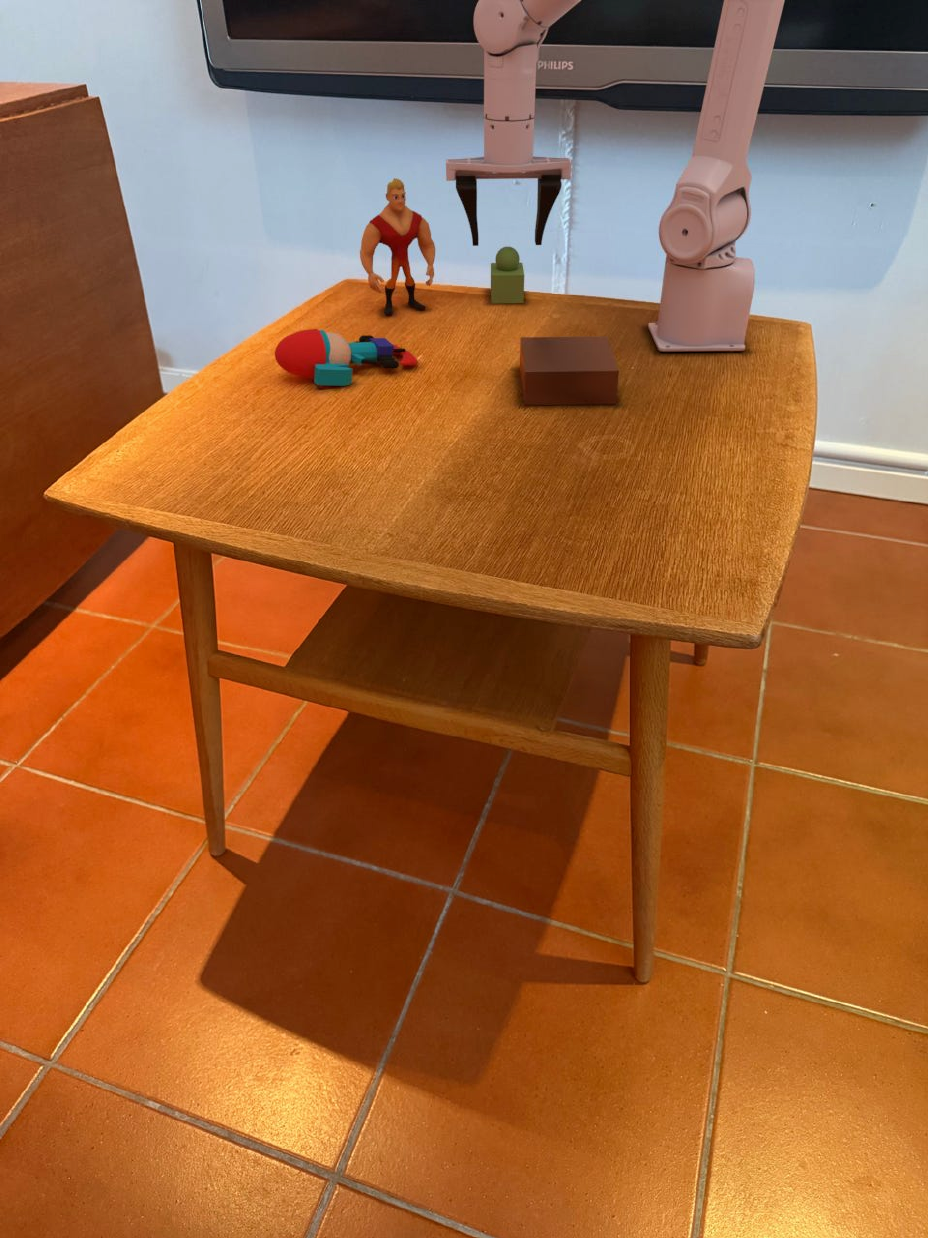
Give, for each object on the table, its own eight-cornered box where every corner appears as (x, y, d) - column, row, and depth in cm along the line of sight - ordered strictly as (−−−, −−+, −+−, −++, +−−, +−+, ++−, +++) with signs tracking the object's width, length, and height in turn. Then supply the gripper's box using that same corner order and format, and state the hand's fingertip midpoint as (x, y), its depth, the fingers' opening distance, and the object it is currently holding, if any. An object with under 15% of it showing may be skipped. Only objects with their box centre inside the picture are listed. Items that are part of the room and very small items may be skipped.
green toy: (521, 290, 114) (522, 240, 110) (523, 303, 110) (525, 252, 106) (490, 290, 114) (491, 241, 110) (491, 303, 110) (491, 252, 106)
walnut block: (604, 368, 94) (607, 336, 91) (615, 404, 87) (619, 370, 84) (519, 369, 94) (520, 337, 92) (524, 405, 87) (525, 371, 84)
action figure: (371, 320, 106) (361, 184, 97) (362, 311, 109) (350, 178, 99) (443, 308, 109) (440, 175, 100) (432, 300, 112) (428, 169, 102)
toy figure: (391, 359, 100) (263, 363, 93) (396, 316, 97) (265, 317, 90) (420, 388, 95) (287, 394, 88) (427, 344, 92) (290, 347, 85)
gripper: (569, 110, 103) (562, 233, 111) (445, 111, 103) (448, 234, 111) (576, 121, 97) (568, 249, 106) (444, 122, 97) (447, 250, 106)
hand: (506, 243), depth 108 cm, fingers open, 7 cm apart
